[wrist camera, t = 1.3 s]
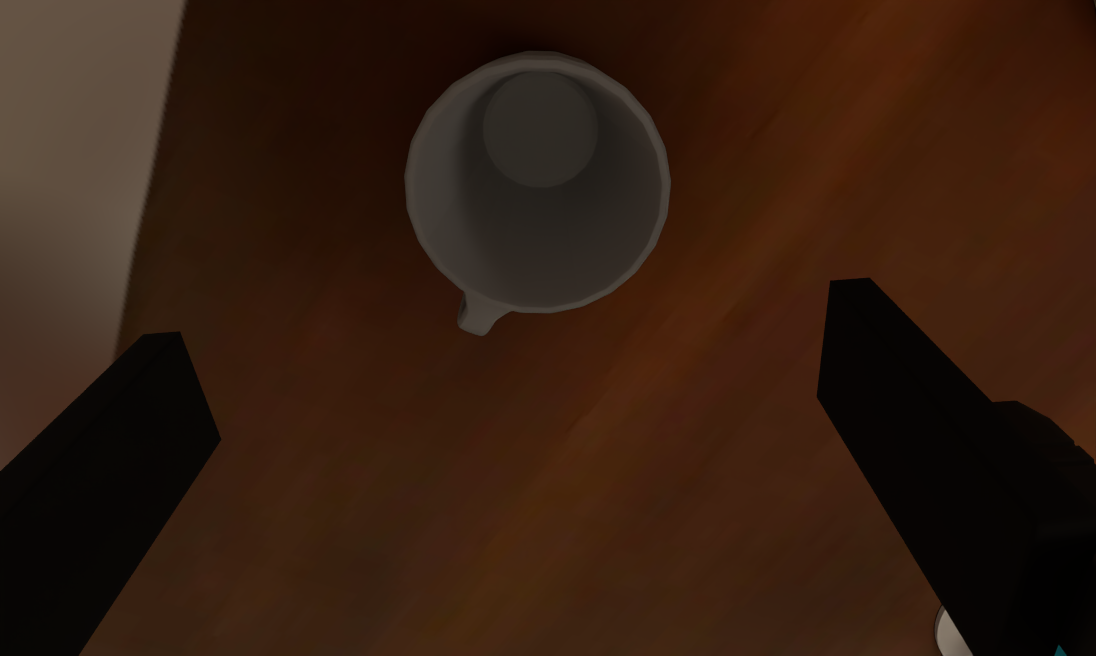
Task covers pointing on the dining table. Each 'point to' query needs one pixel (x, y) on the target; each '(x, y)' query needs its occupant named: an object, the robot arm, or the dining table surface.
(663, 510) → the dining table surface
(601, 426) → the dining table surface
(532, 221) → the cup
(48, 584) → the robot arm
